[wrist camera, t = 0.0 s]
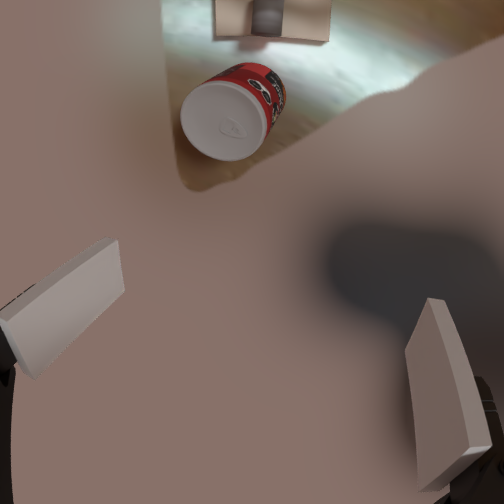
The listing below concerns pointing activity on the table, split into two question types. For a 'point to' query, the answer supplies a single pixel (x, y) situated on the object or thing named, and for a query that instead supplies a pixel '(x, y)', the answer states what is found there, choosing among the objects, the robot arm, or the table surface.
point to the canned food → (233, 111)
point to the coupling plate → (274, 18)
